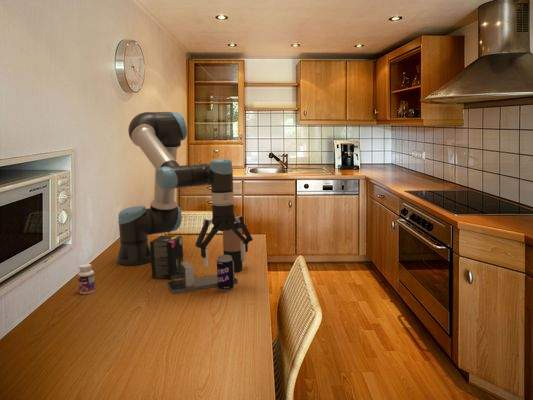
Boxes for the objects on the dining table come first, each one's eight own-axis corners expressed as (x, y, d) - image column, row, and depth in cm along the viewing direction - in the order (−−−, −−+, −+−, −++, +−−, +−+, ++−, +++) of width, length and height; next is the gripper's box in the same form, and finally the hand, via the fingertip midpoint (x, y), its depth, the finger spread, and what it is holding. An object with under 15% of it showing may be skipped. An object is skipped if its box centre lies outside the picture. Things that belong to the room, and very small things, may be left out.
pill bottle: (75, 293, 164) (73, 266, 163) (86, 288, 169) (84, 262, 168) (88, 295, 162) (85, 268, 161) (98, 290, 167) (96, 263, 166)
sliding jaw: (170, 282, 170) (169, 263, 169) (188, 279, 173) (188, 261, 172) (174, 288, 163) (173, 269, 162) (194, 285, 166) (193, 266, 164)
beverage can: (215, 288, 167) (214, 255, 165) (230, 285, 169) (229, 253, 167) (220, 293, 162) (219, 259, 160) (235, 290, 164) (234, 257, 162)
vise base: (167, 285, 171) (165, 263, 170) (228, 275, 180) (228, 255, 179) (172, 293, 162) (171, 271, 160) (237, 283, 171) (237, 261, 170)
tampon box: (174, 279, 177) (172, 242, 174) (151, 278, 179) (149, 241, 176) (184, 271, 187) (182, 235, 185) (163, 270, 189) (161, 234, 187)
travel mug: (231, 274, 182) (230, 224, 179) (220, 270, 187) (218, 221, 184) (246, 270, 187) (245, 221, 184) (235, 266, 192) (233, 218, 189)
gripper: (190, 208, 152) (193, 271, 155) (260, 202, 162) (262, 261, 165) (184, 205, 159) (187, 265, 162) (252, 199, 169) (254, 256, 172)
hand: (225, 263), depth 163 cm, fingers open, 13 cm apart
